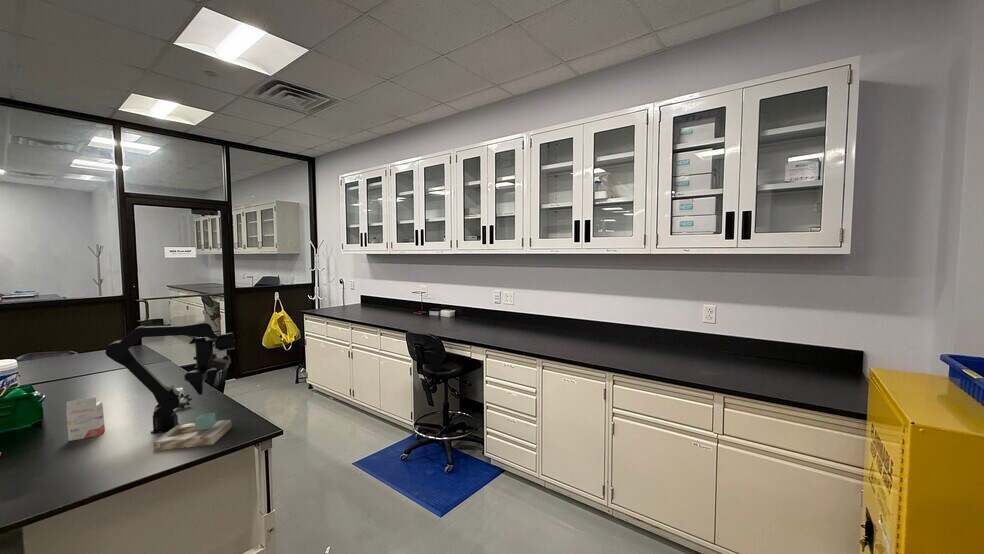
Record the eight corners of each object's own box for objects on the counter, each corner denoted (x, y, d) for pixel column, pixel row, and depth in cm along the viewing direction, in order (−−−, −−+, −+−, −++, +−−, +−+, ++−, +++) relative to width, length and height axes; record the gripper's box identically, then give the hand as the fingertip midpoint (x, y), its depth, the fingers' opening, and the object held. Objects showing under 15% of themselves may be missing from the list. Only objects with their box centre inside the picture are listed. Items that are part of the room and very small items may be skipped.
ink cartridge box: (105, 430, 147) (102, 393, 146) (99, 435, 142) (96, 397, 141) (74, 435, 143) (71, 397, 142) (67, 441, 138) (64, 401, 137)
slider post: (192, 439, 136) (191, 420, 135) (201, 431, 141) (200, 413, 141) (211, 437, 137) (210, 418, 136) (219, 430, 143) (218, 411, 142)
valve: (168, 404, 173) (173, 410, 165) (167, 390, 173) (172, 396, 165) (187, 400, 178) (192, 406, 170) (186, 386, 178) (191, 391, 170)
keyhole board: (153, 451, 130) (153, 442, 130) (178, 432, 143) (177, 424, 143) (213, 444, 133) (212, 435, 133) (231, 427, 147) (231, 419, 147)
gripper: (215, 357, 146) (217, 396, 147) (237, 346, 165) (239, 381, 165) (182, 359, 144) (184, 399, 145) (208, 348, 162) (210, 383, 163)
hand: (206, 390), depth 155 cm, fingers open, 9 cm apart
